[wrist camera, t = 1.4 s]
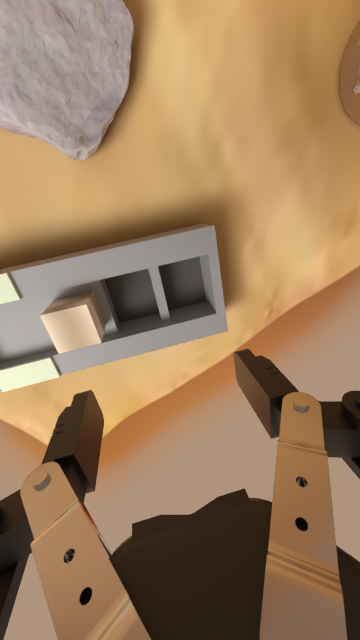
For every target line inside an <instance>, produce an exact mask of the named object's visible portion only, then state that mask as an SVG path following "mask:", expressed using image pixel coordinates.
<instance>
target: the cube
mask: <svg viewBox="0 0 360 640" xmlns="http://www.w3.org/2000/svg"><path fill="white" fill-rule="evenodd" d="M40 317H41V319H42V321H43V323H44V325H45V327H46V329H47V331H48V333H49V335H50V337H51V339H52V341H53V343H54V345H55V347H56V349H57V351H58V353H59V354H61V353H65V352H69V351H73V350H76V349H80V348H84V347H88V346H92V345H96V344H100V343H102V339H103V335H104V331H105V326H106V325H105V322H104V319H103V316H102V314H101V311H100V308H99V306H98V303H97V300H96V297H95V295H94V292H93V291H91V292H87V293H82V294H78V295H74V296H70V297H66V298H62V299H57V300H54V301H53V302H52V303H51V304H50V305H49V306H48V307H47V308H46V309H45V311H44V312H43V313H42V314H41V315H40Z"/></svg>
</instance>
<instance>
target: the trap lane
mask: <svg viewBox="0 0 360 640" xmlns="http://www.w3.org/2000/svg"><path fill="white" fill-rule="evenodd" d="M91 291H93V292H94V295H95V297H96V300H97V303H98V306H99V308H100V311H101V314H102V316H103V319H104V322H105V325H106V326H105V331H104V335H103V339H102V343H100V344H96V345H92V346H88V347H84V348H80V349H76V350H73V351H69V352H65V353H61V354H59V353H58V351H57V349H56V347H55V345H54V343H53V341H52V339H51V337H50V335H49V333H48V331H47V329H46V327H45V325H44V323H43V321H42V319H41V317H40V315H41V314H42V313H43V312H44V311H45V309H46V308H47V307H48V306H49V305H50V304H51V303H52V302H53V301H54V300H57V299H62V298H66V297H70V296H74V295H78V294H82V293H87V292H91ZM226 331H228V328H227V320H226V312H225V304H224V296H223V288H222V280H221V272H220V264H219V256H218V248H217V240H216V232H215V225H210V224H204V223H201V224H197V225H192V226H188V227H183V228H179V229H174V230H170V231H166V232H161V233H157V234H152V235H148V236H144V237H139V238H135V239H130V240H126V241H122V242H117V243H113V244H108V245H104V246H99V247H95V248H91V249H86V250H82V251H77V252H73V253H69V254H64V255H60V256H55V257H51V258H46V259H42V260H38V261H33V262H29V263H24V264H20V265H16V266H11V267H7V268H2V269H0V391H2V392H5V391H9V390H12V389H16V388H20V387H24V386H28V385H31V384H35V383H39V382H43V381H46V380H50V379H54V378H58V377H60V376H61V375H63V374H67V373H71V372H75V371H79V370H82V369H86V368H90V367H94V366H97V365H101V364H105V363H109V362H113V361H116V360H120V359H124V358H128V357H132V356H135V355H139V354H143V353H147V352H150V351H154V350H158V349H162V348H166V347H169V346H173V345H177V344H181V343H185V342H188V341H192V340H196V339H200V338H203V337H207V336H211V335H215V334H219V333H222V332H226Z"/></svg>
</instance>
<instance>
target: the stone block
mask: <svg viewBox="0 0 360 640" xmlns="http://www.w3.org/2000/svg"><path fill="white" fill-rule="evenodd" d="M134 29H135V28H134V23H133V20H132V16H131V15H130V13H129V10H128V8H127V6H126V4H125V3H124V2H123V0H0V127H1V128H3V129H5V130H8V131H11V132H14V133H20V134H24V135H28V136H31V137H34V138H38V139H40V140H43V141H45V142H47V143H50V144H51V145H52V146H54V147H55V148H56V149H58V150H59V151H61V152H62V153H64V154H65V155H67V156H68V157H70V158H72V159H75V160H77V159H79V160H86V159H87V158H89V157H90V156H91V155H92V154H93V153H95V152H96V150H97V149H98V147H99V146H100V144H101V142H102V139H103V137H104V134H105V132H106V130H107V128H108V126H109V124H110V123H111V122H112V121H113V119H114V116H115V113H116V111H117V109H118V108H119V106H120V105H121V103H122V100H123V98H124V96H125V94H126V92H127V89H128V86H129V76H130V62H131V57H132V56H131V47H132V42H133V37H134Z"/></svg>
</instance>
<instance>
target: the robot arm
mask: <svg viewBox="0 0 360 640" xmlns="http://www.w3.org/2000/svg"><path fill="white" fill-rule="evenodd" d="M340 94H341V100H342V103H343V106H344V108H345V111H346V112H347V114H348V115H349V117H350V118H351V119H352V120H353V121H355V122H356V123H357V124H360V23H359V24H358V26H357V27H356V29H355V31H354V32H353V34H352V36H351V38H350V40H349V42H348V45H347V47H346V49H345V52H344V56H343V60H342V63H341V70H340ZM234 361H235V371H236V377H237V381H238V384H239V386H240V388H241V390H242V391H243V393H244V395H245V396H246V398H247V400H248V401H249V403H250V404H251V406H252V408H253V409H254V411H255V413H256V414H257V416H258V418H259V419H260V421H261V422H262V424H263V426H264V427H265V429H266V431H267V432H268V434H269V436H270V437H271V438H275V437H279V440H278V445H277V456H276V467H275V478H274V490H273V502H270V501H267V500H263V499H259V498H248V495H247V493H246V490H245V489H242V490H239V491H235V492H232V493H229V494H226V495H223V496H219V497H217V498H216V499H214V500H213V501H211V502H210V503H208V504H207V505H205V506H204V507H202V508H201V509H199V510H198V511H196V512H195V513H193V514H190V515H159V516H156V517H153V518H150V519H146V520H143V521H140V522H137V523H133V524H132V536H130V537H129V538H128V539H127V540H125V541H124V542H123V543H122V544H121V545H120V546H119V547H118V548H117V549H116V550H115V551H114V553H113V554H112V553H111V551H110V549H109V548H108V546H107V544H106V542H105V541H104V539H103V537H102V535H101V533H100V532H99V530H98V528H97V526H96V524H95V523H94V521H93V519H92V517H91V515H90V514H89V512H88V510H87V508H86V507H85V505H84V497H85V494H86V493H89V492H93V491H95V485H96V478H97V471H98V463H99V456H100V449H101V441H102V434H103V427H104V418H103V414H102V411H101V409H100V407H99V404H98V402H97V400H96V398H95V395H94V393H93V392H92V391H91V390H89V391H86V392H82V393H78V394H75V395H74V398H73V401H72V404H71V406H70V407H66V408H65V409H64V411H63V412H62V413H61V414H60V416H59V417H58V420H57V423H56V426H55V427H56V428H54V431H53V436H52V437H51V439H50V442H49V445H48V448H47V450H46V453H45V456H44V459H43V461H42V464H41V465H40V466H39V467H37V468H36V469H35V470H33V471H32V472H31V473H30V474H29V475H28V476H27V478H26V479H25V481H24V483H23V485H22V487H21V489H20V490H18V491H17V492H15V493H13V494H11V495H10V496H8V497H6V498H4V499H3V500H1V501H0V640H3V639H4V636H5V632H6V629H7V626H8V622H9V619H10V616H11V612H12V609H13V605H14V603H15V599H16V596H17V593H18V589H19V586H20V583H21V579H22V576H23V573H24V570H25V566H26V562H27V560H28V556H29V554H31V553H33V557H34V560H35V564H36V567H37V570H38V574H39V577H40V580H41V584H42V587H43V590H44V594H45V598H46V601H47V604H48V608H49V611H50V614H51V618H52V621H53V625H54V628H55V632H56V635H57V638H58V640H360V562H359V561H357V560H356V559H355V558H353V557H352V556H351V555H349V554H348V553H346V552H345V551H344V550H342V549H341V548H339V547H338V546H337V545H336V539H335V528H334V518H333V507H332V497H331V488H330V487H331V486H330V476H329V466H328V457H341V458H343V460H344V461H345V462H346V463H347V464H348V466H349V467H350V468H351V469H352V471H353V472H354V473H355V474H356V475H357V476H358V478H359V479H360V391H350V392H347V393H345V394H344V395H343V397H342V402H320V401H318V400H317V399H315V398H314V397H313V396H311V395H309V394H306V393H302V392H299V391H298V390H297V389H296V388H295V387H294V386H293V385H292V383H291V382H290V381H289V380H288V379H287V378H286V377H285V376H284V375H283V374H282V373H281V372H280V370H279V369H278V368H276V367H275V365H274V364H273V363H272V362H271V361H270V360H269V359H267V358H265V357H263V356H261V355H260V356H256V357H255V356H254V354H253V353H252V352H251V351H250V350H249V349H245V350H241V351H237V352H234Z"/></svg>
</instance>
